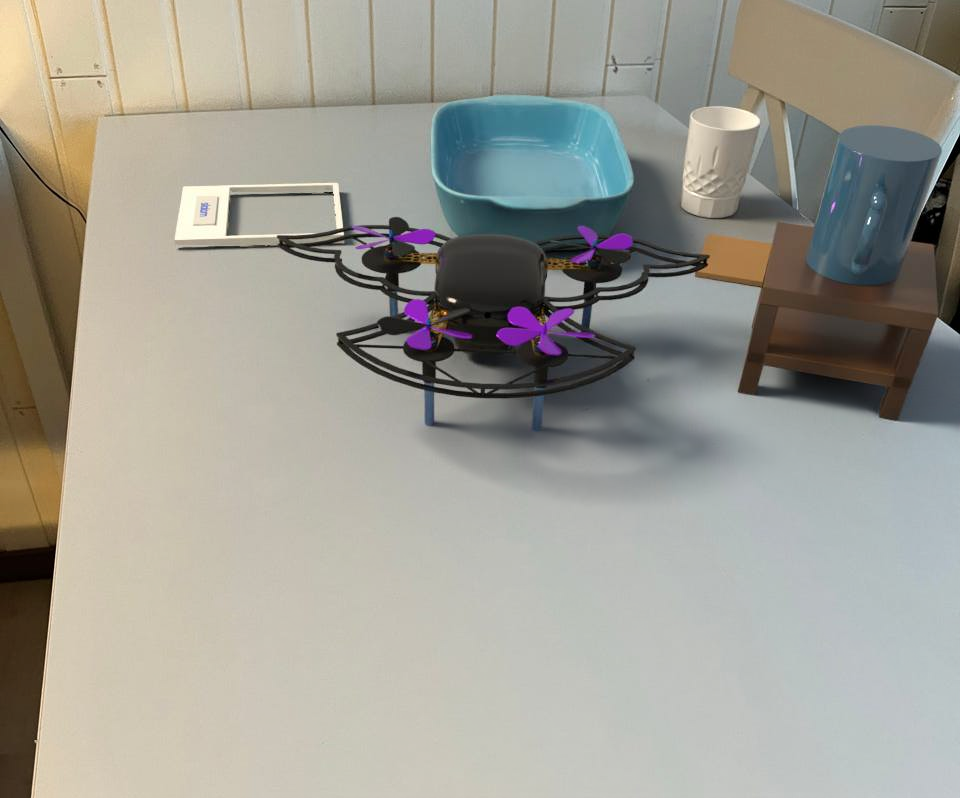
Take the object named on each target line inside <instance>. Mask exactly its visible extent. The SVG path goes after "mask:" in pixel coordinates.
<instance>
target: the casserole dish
mask: <svg viewBox="0 0 960 798" xmlns="http://www.w3.org/2000/svg"><path fill="white" fill-rule="evenodd" d="M430 169H431V176H432V178H433V179H432V180H433V182H434V186H435V190H436V194H437V199H438V202H439V204H440V208H441V211H442V213H443V216H444V219H445V220H446V223H447V224H448V226H449V227H450V229H451V230H452V232H453V233H454V234H455V235H456V237H459V236H464V235H472V234H499V235H509V236H515V237H520V238H523V239H527V240H529V241H532V242H538V241H542V240H545V239H551V238H556V237H563V236H573V235H582V234H581V233H580V232H579V231H578V227H579V226H585V227H587V228H589V229H591V230H593V231H594V232H595V233H596V234H597V235H608V236H610V234H611V233H612V231H613V230H614V228H615V227H616V225H617V223H618V221H619V219H620V218H621V215H622V213H623V211H624V208H625V206H626V203H627V201H628V198H629V196H630V194H631V192H632V190H633V187H634V183H635V176H634V175H635V174H634V171H633V170H634V169H633V167H632V163H631V161H630V158H629V155H628V152H627V150H626V147H625V143H624V140H623V138H622V134H621V132H620V130H619V127H618V125H617V122H616V120H615V118H614V117H613V115H611V113H610V112H609V111H607V110H606V109H604V108H603V107H601V106H598V105H596V104H593V103H589V102H584V101H579V100H568V99H561V98H554V97H550V96H545V95H535V94H534V95H533V94H532V95H531V94H530V95H529V94H498V95H497V94H495V95H488V96H484V97H475V98H465V99H458V100H452V101H450V102H447V103H444V104H443V105H441V106H439V108H437V109H436V111H435V112H434V114H433V116H432V119H431V124H430ZM603 240H604V239H597V241H596V243H601V242H602V241H603ZM563 242H568V243H572V244H575V243H588V242H587V240H586V239H575V240H565V241H563ZM557 245H562V244H556V243H548V244H544V245H540V247H541V248H546V247H551V246H557ZM586 249H587V248H586V247H576V248H566V249H559V250H558V251H574V250H586Z"/></svg>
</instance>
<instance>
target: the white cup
mask: <svg viewBox="0 0 960 798" xmlns="http://www.w3.org/2000/svg"><path fill="white" fill-rule="evenodd" d="M761 123H762V121H761V118H760V117H759V116H758V115H756V114H755V113H753V112H751V111H748V110H745V109H741V108H737V107H730V106H722V105H720V106H719V105H712V106H703V107H699V108H696V109H694V110H693V111H692V112H690V116H689V124H688V132H687V138H686V148H685V155H684V162H683V174H682V188H681V195H680V207H681V208H682V209H683V210H684V211H686V213H689V214H691V215H694V216H697V217H701V218H708V219H722V218H727V217H730V216H733V215H734V214H735V213H736V212H737V210H738V207H739V203H740V199H741V196H742V191H743V189H744V186H745V183H746V181H747V175H748V173H749V169H750V165H751V161H752V157H753V154H754V150H755V146H756V143H757V139H758V135H759V131H760V127H761Z"/></svg>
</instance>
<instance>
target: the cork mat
mask: <svg viewBox="0 0 960 798" xmlns="http://www.w3.org/2000/svg"><path fill="white" fill-rule="evenodd" d="M771 246H772V242H765V241H757V240H753V239H752V240H751V239H747V238H746V239H745V238H738V237H732V236H726V235H725V236H724V235H718V234H712V233H707V235H706V238H705V241H704V244H703V247H702V250H701V253H700V254H705V255H710V257H709V258H708V259H707V263H708V266H707V267H705V268H704V269H702V270H699V271H697V272H694V277H698V278H704V279H711V280H717V281H722V282H723V281H724V282H729V283H735V284H742V285H747V286H755V287H760V288H761V287H762V282H763V278H764V274H765V270H766V266H767V262H768V258H769V254H770V250H771ZM700 263H703V262H700Z"/></svg>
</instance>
